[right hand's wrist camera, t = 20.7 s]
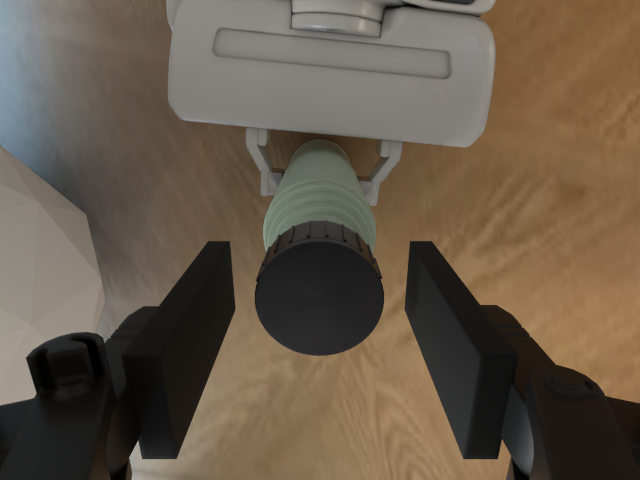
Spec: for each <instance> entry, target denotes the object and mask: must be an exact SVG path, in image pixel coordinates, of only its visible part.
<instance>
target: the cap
mask: <svg viewBox="0 0 640 480" xmlns="http://www.w3.org/2000/svg"><path fill="white" fill-rule="evenodd" d="M381 279H382V276H381V273H380V270H379V267H378V264H377V261H376V258H373V255H372V252H371V249H370V246H369V244H366V243H365V241H364V240H363V239H362V238H361V237H360V236H359V233H355V232H354V231H352V230H351V229H349V228H347V227H345V226H344V224H342V225H340V224H337V223H334V222H329V221H328V220H325V221H308V222H305V223H302V224H298V225H296V226H294V225H293V226H292V227H291V228H290V229H288V230H287V231H285V232H284V233H282V234H281V235H280V234H279V235H278V237H277V239H276V240H275V241H274V242H273V244H272V245H271V247H268V250H267V252H266V255H265V258H264V261H263V262H262V265H261V267H260V270H259V273H258V276H257V279H256V282H257V285H256V290H255V306H256V311H257V314H258V317H259V319H260V321H261V323H262V325H263V327H264V328H265V330H266V331H267V332H268V333H269V335H270V336H271V337H272V338H274V339H275V340H276V341H277V342H278V343H280V344H281V345H283V346H285V347H286V348H288V349H290V350H293V351H295V352H299V353H302V354H307V355H316V356H323V355H332V354H337V353H340V352H344V351H346V350H348V349H351V348H352V347H354V346H356V345H358V344H359V343H360V342H362V341H363V340H364V339H365V338H366V337H367V336H369V334H370V333H371V332H372V331H373V330H374V328H375V326H376V325H377V323H378V321H379V319H380V317H381V314H382V310H383V305H384V291H383V286H382V283H381Z"/></svg>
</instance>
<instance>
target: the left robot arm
mask: <svg viewBox="0 0 640 480" xmlns="http://www.w3.org/2000/svg"><path fill="white" fill-rule="evenodd" d="M495 2H496V0H166V3H167V20H168V24H169V27H170V29H171V31H172V38H171V46H170V56H169V68H168V102H169V105H170V107H171V108H172V109H173V111H174V112H175V113H176V115H177V116H178V117H179V119H181V120H183V121H192V122H202V123H213V124H223V125H234V126H244V127H246V144H245V145H246V146H247V148H248V150H249V152H250V154H251V156H252V158H253V160H254V162H255V164H256V166H257V167H258V169H259V171H261V190H260V193H261V196H271V197H274V195H275V193H276V191H277V189H278V186H279V184H280V182H281V180H282V177H283V175H284V171H285V169H279V168H273V165H272V163H271V161H270V159H269V157H268V155H267V153H266V150H265V148H264V146H265V145H266V144H267V143H269V142H270V134H271V129H275V130H286V131H296V132H307V133H317V134H328V135H338V136H349V137H359V138H370V139H378V140H377V149H376V151H377V153H378V154H379V155H380V156H381V159H380V160H379V162H378V163H377V164H376V166H375V167H374V168H373V170H372V171H371V172H370V174H369V175H368V177H367V176H357V179H358V181H359V183H360V185H361V188H362V190H363V192H364V194H365V197H366V199H367V201H368V203H369V205H370V206H376V205H377V201H378V194H379V187H380V182H383V180H384V179H385V178H386V177H387V175H388V174H389V173H390V172H391V170H392V169H393V168H394V167H395V165H396V164H397V163H398V162H399V160H400V158H401V152H402V146H403V142H412V143H422V144H433V145H443V146H454V147H464V148H466V147H469V146H470V145H472V144H473V143H474V142H475V141H476V140H477V139H478V138H479V137H480V136H481V135H482V133H483V132H484V129H485V126H486V122H487V117H488V113H489V107H490V102H491V96H492V89H493V81H494V71H495V60H496V46H495V40H494V36H493V33H492V31H491V29H490V27H489V26H488V25H487V24H486V23H485V22H484V21H483V20H482V19H480V18H479V17H480V16H482V15H483V14H485V13H486V12H488V11H489V10H490V9H491V8H492V7H493V6H494V4H495Z"/></svg>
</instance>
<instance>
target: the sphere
mask: <svg viewBox="0 0 640 480" xmlns="http://www.w3.org/2000/svg"><path fill="white" fill-rule="evenodd" d="M105 301H106V300H105V295H104V290H103V285H102V280H101V276H100V272H99V267H98V263H97V259H96V255H95V250H94V246H93V242H92V238H91V233H90V229H89V225H88V221H87V217H86V214H85V213H84V212H83V211H81V210H80V209H79V208H78V207H76V206H75V205H74V204H73V203H71V202H70V201H69V200H68V199H66V198H65V197H64V196H63V195H62V194H60V193H59V192H58V191H57V190H55V189H54V188H53V187H52V186H50V185H49V184H48V183H47V182H45V181H44V180H43V179H42V178H41V177H39V176H38V175H37V174H36V173H34V172H33V171H32V170H31V169H29V168H28V167H27V166H26V165H24V164H23V163H22V162H21V161H20V160H18V159H17V158H16V157H15V156H13V155H12V154H11V153H10V152H8V151H7V150H6V149H5V148H3V147H2V146H1V145H0V405H4V404H9V403H14V402H19V401H24V400H28V399H32V398H34V397H35V395H36V390H35V387H34V384H33V380H32V377H31V374H30V370H29V367H28V364H27V360H26V357H27V356H28V355H29V354H30V352H31V351H32V350H33V349H35V348H36V347H38V346H40V345H41V344H43V343H44V342H46V341H49V340H51V339H54V338H56V337H59V336H62V335H67V334H71V333H78V332H90V333H96V330H97V327H98V323H99V320H100V317H101V314H102V311H103V307H104V304H105Z"/></svg>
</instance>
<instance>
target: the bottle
mask: <svg viewBox="0 0 640 480" xmlns="http://www.w3.org/2000/svg"><path fill="white" fill-rule="evenodd" d="M325 220H328V221H329V222H334V223H337V224H340V225H342V224H344V226H345V227H347V228H349V229H351V230H352V231H354V232H355V233H359V236H360V237H361V238H362V239H363V240H364V241H365V243H366V244H369V246H370V249H371V252H372V254H373V251H374V246H375V240H376V223H375V218H374V215H373V212H372V210H371V208H370V206H369V203H368V201H367V199H366V197H365V194H364V192H363V190H362V188H361V185H360V183H359V181H358V179H357V176H356V174H355V172H354V170H353V167H352V165H351V163H350V161H349V158H348V156H347V154H346V153H345V151H344V150H343V149H342V148H341V147H340V146H339V145H337V144H336V143H334V142H332V141H329V140H324V139H315V140H311V141H308V142H306V143H304V144H302V145H301V146H300V147H299V148H298V149H297V150H296V151H295V152H294V154H293V156H292V158H291V160H290V162H289V164H288V166H287V169H286V171H285V173H284V175H283V177H282V180H281V182H280V184H279V186H278V189H277V191H276V193H275V195H274V197H273V200H272V202H271V204H270V206H269V208H268V211H267V213H266V216H265V220H264V225H263V238H264V245H265V250H266V252H267V250H268V247H271V245H272V244H273V242H274V241H275V240H276V239H277V237H278V235H279V234H280V235H281V234H282V233H284V232H285V231H287V230H288V229H290V228H291V227H292V226H293V225H294V226H296V225H298V224H302V223H305V222H308V221H325Z"/></svg>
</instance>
